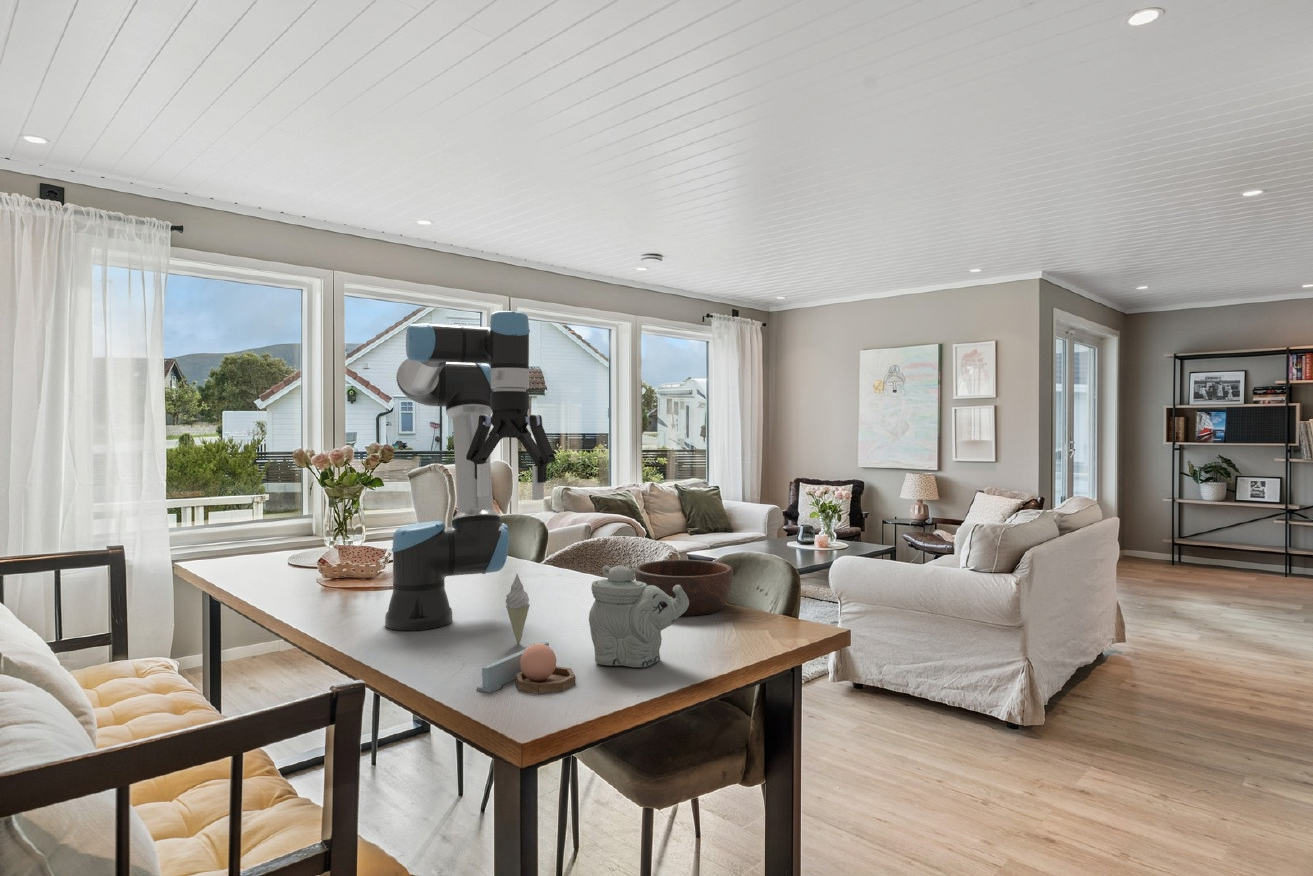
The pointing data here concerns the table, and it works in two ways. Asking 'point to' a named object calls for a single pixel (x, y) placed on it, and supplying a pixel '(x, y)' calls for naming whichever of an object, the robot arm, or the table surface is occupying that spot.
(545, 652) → the ball
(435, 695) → the table surface
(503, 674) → the low wall
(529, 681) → the cork ring
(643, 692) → the table surface
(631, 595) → the teapot
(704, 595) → the wooden bowl
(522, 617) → the ice cream cone
